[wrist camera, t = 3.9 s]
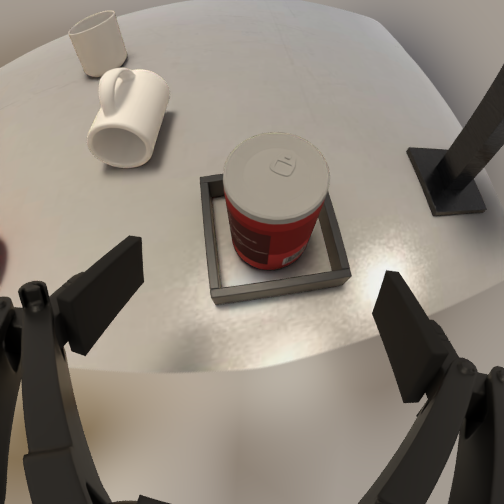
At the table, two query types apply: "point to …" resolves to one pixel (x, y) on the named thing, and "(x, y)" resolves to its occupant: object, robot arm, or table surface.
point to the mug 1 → (98, 43)
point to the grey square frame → (336, 277)
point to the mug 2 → (128, 117)
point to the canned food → (274, 197)
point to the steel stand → (463, 158)
